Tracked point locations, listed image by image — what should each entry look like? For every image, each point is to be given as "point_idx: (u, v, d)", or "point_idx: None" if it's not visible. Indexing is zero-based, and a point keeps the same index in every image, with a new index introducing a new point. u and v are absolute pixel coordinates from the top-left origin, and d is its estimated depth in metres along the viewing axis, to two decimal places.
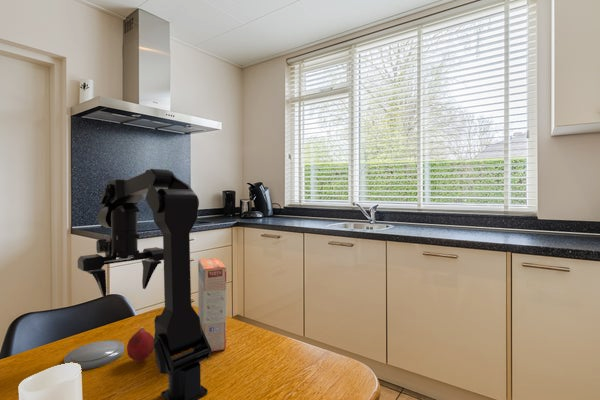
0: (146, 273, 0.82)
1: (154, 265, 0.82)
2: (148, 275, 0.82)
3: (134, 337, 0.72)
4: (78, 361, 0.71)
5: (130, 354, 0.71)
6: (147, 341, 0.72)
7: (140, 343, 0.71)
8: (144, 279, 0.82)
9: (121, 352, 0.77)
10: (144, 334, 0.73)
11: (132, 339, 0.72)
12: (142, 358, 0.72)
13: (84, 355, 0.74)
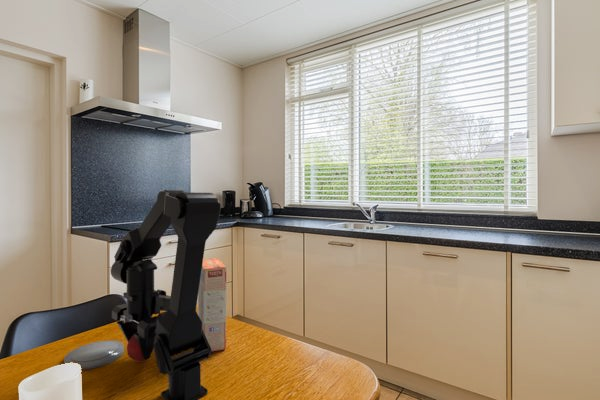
0: None
1: (137, 338, 0.69)
2: (139, 346, 0.70)
3: (134, 337, 0.72)
4: (78, 361, 0.71)
5: (130, 354, 0.71)
6: None
7: None
8: None
9: (121, 352, 0.77)
10: None
11: (132, 339, 0.72)
12: (142, 358, 0.72)
13: (84, 355, 0.74)
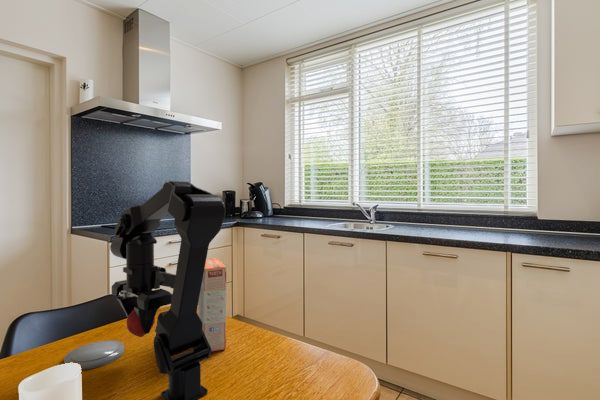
0: None
1: (137, 311, 0.69)
2: (139, 320, 0.70)
3: (134, 311, 0.72)
4: (78, 361, 0.71)
5: (130, 328, 0.71)
6: None
7: None
8: None
9: (121, 352, 0.77)
10: None
11: (132, 313, 0.72)
12: (142, 332, 0.72)
13: (84, 355, 0.74)
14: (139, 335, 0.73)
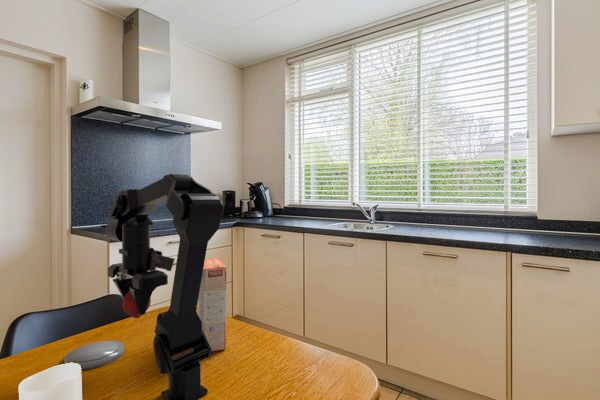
0: None
1: (132, 291, 0.69)
2: (134, 300, 0.70)
3: (130, 292, 0.72)
4: (78, 361, 0.71)
5: (125, 309, 0.71)
6: None
7: None
8: None
9: (121, 352, 0.77)
10: None
11: (128, 294, 0.72)
12: (137, 313, 0.72)
13: (84, 355, 0.74)
14: (135, 316, 0.73)
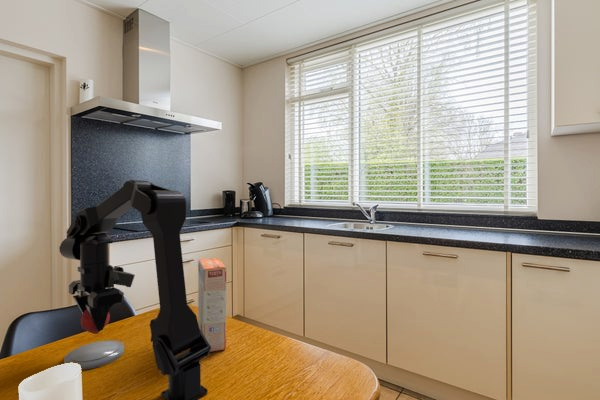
0: None
1: (88, 309, 0.71)
2: (91, 317, 0.72)
3: None
4: (78, 361, 0.71)
5: (83, 325, 0.74)
6: None
7: None
8: None
9: (121, 352, 0.77)
10: None
11: (86, 311, 0.74)
12: (95, 329, 0.74)
13: (84, 355, 0.74)
14: (93, 332, 0.75)
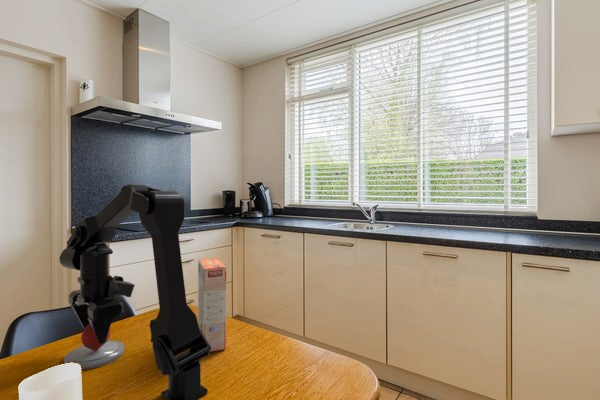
0: None
1: (90, 322, 0.70)
2: (93, 330, 0.72)
3: (89, 326, 0.75)
4: (78, 361, 0.71)
5: (84, 342, 0.74)
6: None
7: (93, 332, 0.74)
8: None
9: (121, 352, 0.77)
10: None
11: (86, 328, 0.75)
12: (96, 346, 0.74)
13: (84, 355, 0.74)
14: (93, 349, 0.75)
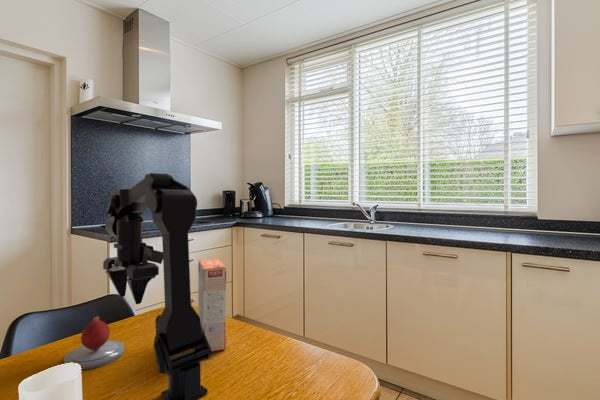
0: None
1: (129, 282, 0.75)
2: (131, 291, 0.77)
3: (88, 326, 0.75)
4: (78, 361, 0.71)
5: (83, 342, 0.74)
6: (101, 330, 0.75)
7: (93, 332, 0.74)
8: None
9: (121, 352, 0.77)
10: (98, 324, 0.76)
11: (86, 328, 0.75)
12: (95, 346, 0.74)
13: (84, 355, 0.74)
14: (93, 349, 0.75)
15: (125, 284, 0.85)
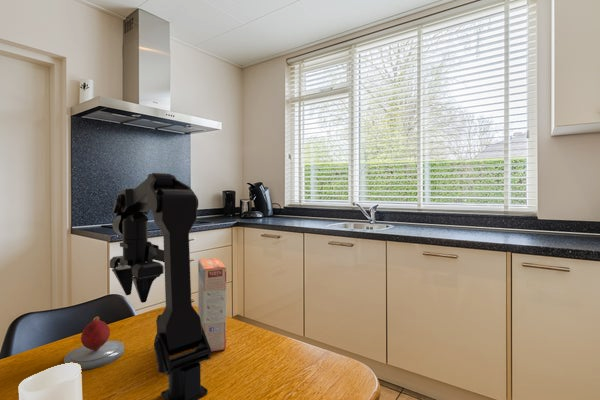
0: None
1: (134, 281, 0.76)
2: (136, 289, 0.78)
3: (88, 326, 0.75)
4: (78, 361, 0.71)
5: (83, 342, 0.74)
6: (101, 330, 0.75)
7: (93, 332, 0.74)
8: None
9: (121, 352, 0.77)
10: (98, 324, 0.76)
11: (86, 328, 0.75)
12: (95, 346, 0.74)
13: (84, 355, 0.74)
14: (93, 349, 0.75)
15: (131, 282, 0.86)
